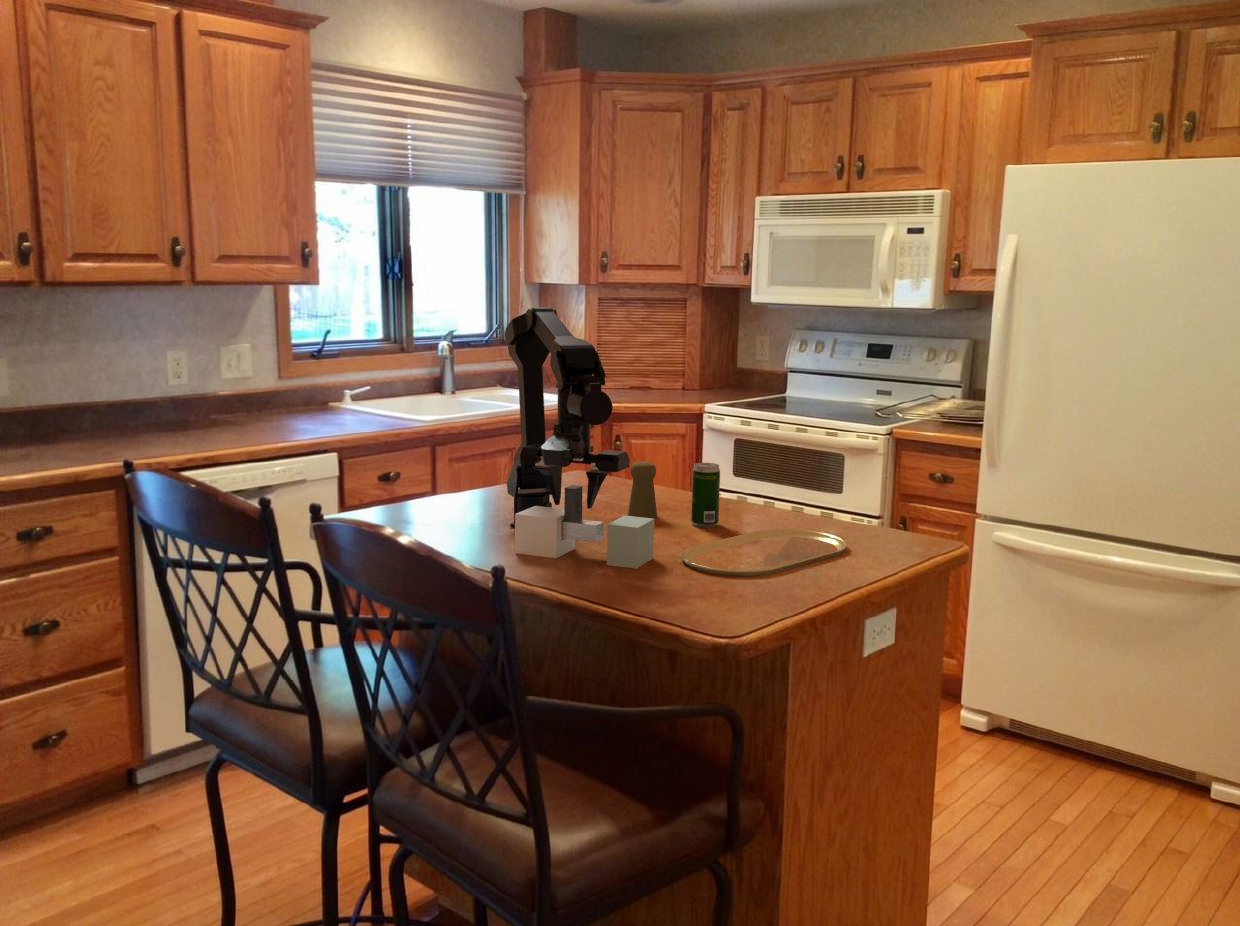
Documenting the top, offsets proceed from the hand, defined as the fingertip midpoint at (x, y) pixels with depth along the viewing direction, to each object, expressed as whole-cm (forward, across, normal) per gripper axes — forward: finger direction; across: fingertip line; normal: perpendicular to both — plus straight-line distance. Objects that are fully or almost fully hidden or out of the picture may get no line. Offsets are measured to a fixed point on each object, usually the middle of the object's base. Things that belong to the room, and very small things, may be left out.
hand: (573, 506), depth 188 cm
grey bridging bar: (+6, -2, 0) cm, 6 cm away
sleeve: (+8, -5, 0) cm, 10 cm away
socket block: (+8, +11, 0) cm, 14 cm away
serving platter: (+9, +31, +15) cm, 35 cm away
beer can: (+9, +14, +32) cm, 36 cm away
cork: (+9, 0, +34) cm, 35 cm away
